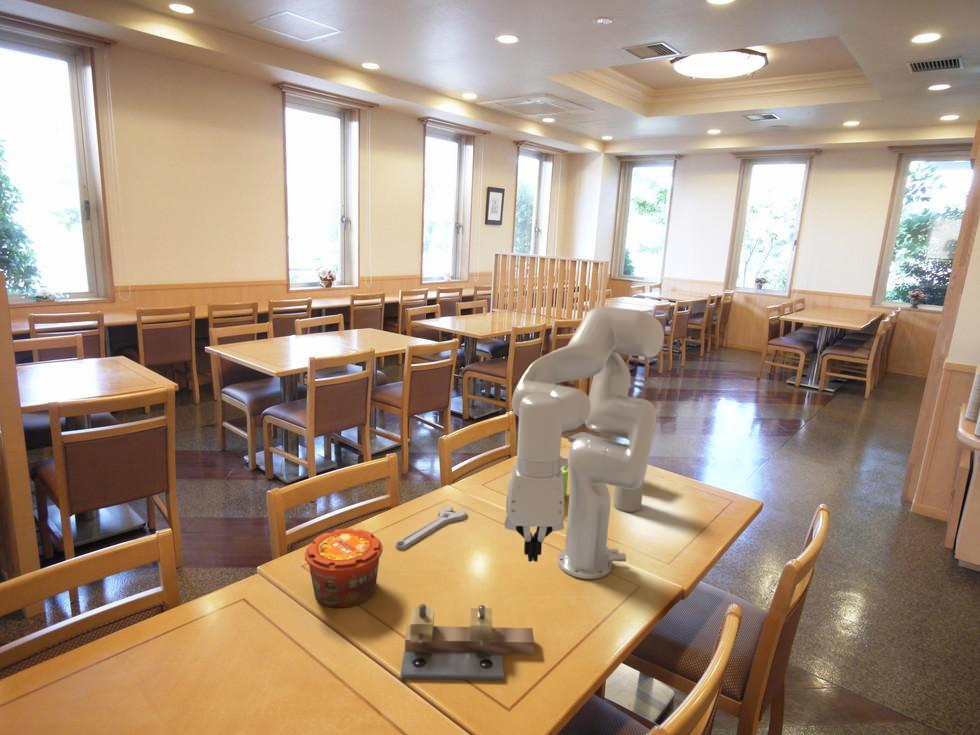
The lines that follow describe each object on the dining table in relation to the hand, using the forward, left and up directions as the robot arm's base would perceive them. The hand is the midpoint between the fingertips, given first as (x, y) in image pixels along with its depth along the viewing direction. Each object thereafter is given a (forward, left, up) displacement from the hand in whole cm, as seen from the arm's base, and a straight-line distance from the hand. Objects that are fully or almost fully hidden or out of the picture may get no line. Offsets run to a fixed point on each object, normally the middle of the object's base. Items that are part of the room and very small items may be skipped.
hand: (532, 557), depth 108 cm
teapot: (-10, -63, -19) cm, 67 cm away
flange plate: (+14, +6, -19) cm, 24 cm away
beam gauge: (+11, +1, -19) cm, 22 cm away
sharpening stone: (-32, -80, -19) cm, 89 cm away
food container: (+38, -16, -19) cm, 45 cm away
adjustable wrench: (+22, -44, -20) cm, 53 cm away
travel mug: (-34, -59, -19) cm, 71 cm away
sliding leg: (+9, +1, -16) cm, 18 cm away
